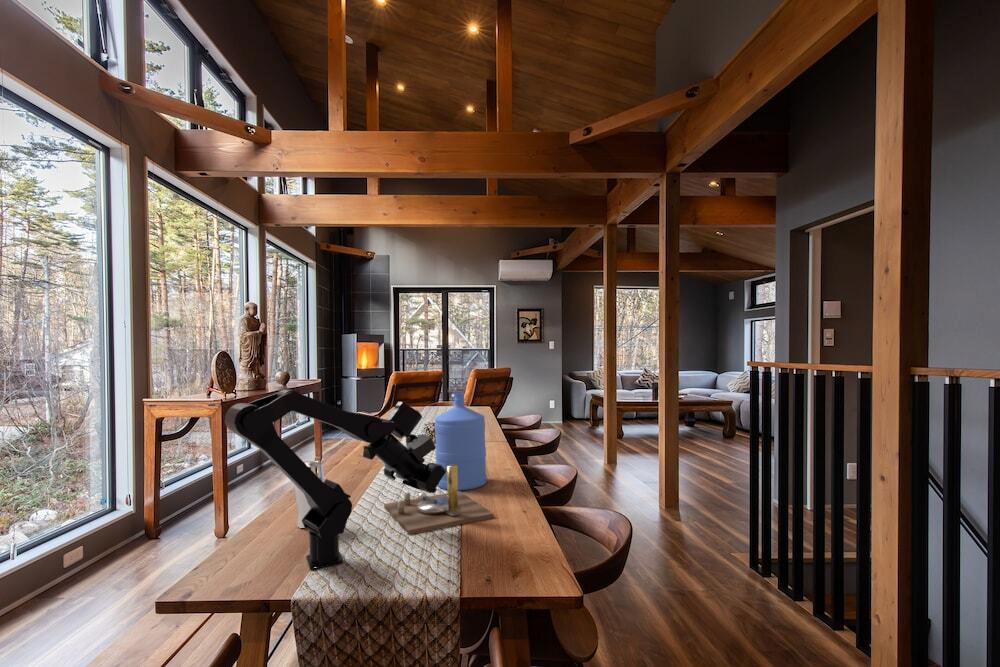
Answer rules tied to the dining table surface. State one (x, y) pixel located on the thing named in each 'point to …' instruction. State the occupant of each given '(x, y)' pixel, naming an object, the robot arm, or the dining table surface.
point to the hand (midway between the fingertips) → (434, 491)
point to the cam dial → (442, 504)
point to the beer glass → (300, 497)
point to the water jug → (461, 444)
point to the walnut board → (422, 522)
